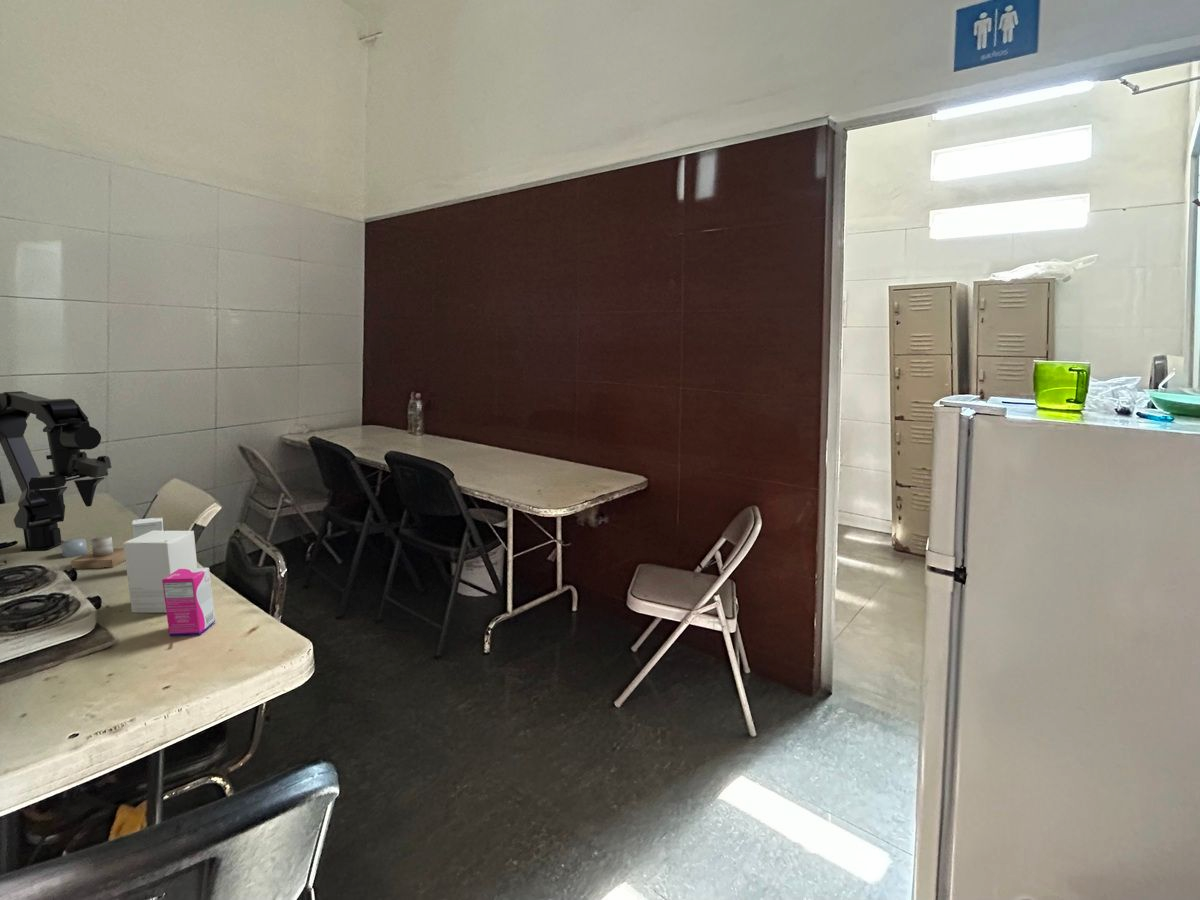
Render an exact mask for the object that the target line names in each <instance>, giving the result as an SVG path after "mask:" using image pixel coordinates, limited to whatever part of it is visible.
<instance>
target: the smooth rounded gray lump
mask: <svg viewBox="0 0 1200 900" xmlns="http://www.w3.org/2000/svg"><path fill="white" fill-rule="evenodd" d="M62 541H63V542H61V544H60V548H61V556H63V557H62V558H66V557H69V558H75V557H76V558H78V557H80V556H82V555H84V554H86V553H87V552H88V546H87V540H86V538H71V539H67V540H62Z"/></svg>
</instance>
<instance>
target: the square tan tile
mask: <svg viewBox="0 0 1200 900" xmlns="http://www.w3.org/2000/svg"><path fill="white" fill-rule="evenodd" d="M90 540H91V548H92V550H90V551H87V552H88V553H86V554H84V555H81V556H77V557H76V558H74V559H72V560H70V563H71V569H72V568H76V569H75V570H77V569H78V570H79V569H81V570H82V569H105V568H104V567H113V568H114V566H115V567H116V565H117V566H119V565H120V564H122V563H124V562H126V561H125V553H124V547H122V548H119V547H117V548H114V544H113V537H112V536H110V535H109V536H108V535H104V536H98V537H94V538H92V539H90ZM123 561H124V562H123ZM121 562H122V563H121ZM119 563H120V564H119ZM102 567H103V568H102Z"/></svg>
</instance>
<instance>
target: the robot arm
mask: <svg viewBox="0 0 1200 900" xmlns="http://www.w3.org/2000/svg"><path fill="white" fill-rule="evenodd" d="M31 414H32V415H35V418H36V419H37V420H38V421H40V422H42V423H43V424H45V426H44V427H43V429H42V432H43V433H46V436H47V441H48V447H49V452H50V454H47V455H46V456H45V457H46V460H51V463H52V470H51V471H48V474H49V475H41V473H40V472H41V471H39V468H38V466H37V463H36V461H35V459H34V457H33V454H32V452H31V450H30V447H29V445H28V442H27V441H26V439H25V436H24V435H25V433H26V432H25V431H26V430H27V426H28V423H27V420H28V418H29V417H30V415H31ZM88 419H89V417H88V416H87V414H86V413H84V411H83V410H82V408H81V407H80V406H79V404H78V403H77V402H76V401H75V400H74V399H73V398H53V399H52V398H51V399H50V398H46V397H43V396H38V395H35V394H31V393H28V392H26V391H22V390H20V391H17V390H16V391H4V392H0V445H1V449H2V450H3V452H4V454H5V456H6V459H7V462H8V463H9V466H10V468H11V470H12V473H13V475H14V477H15V480H16V482H17V484H18V487H19V490H20V491H21V494H20V496H19V500H18V501H17V506H18V508H19V509H18V511H17V512H16V514H15V517H13V523H14V525H15V528H19V529H21V530H22V531H23V538H24V543H25V544H24V545H25V547H21V548H20V550H21V551H46V550H47V551H48V550H51V549H53V548H55V547H57V546H61V542H63V541H64V540H62V535H61V528H60V527H59V526H58V523H59V522H65V513H66V512H65V511H66V505H65V502H64V501H65V500H64V493H65V492H66V490H67V489H68V486H65V485H66V484H67V482H71V481H73V482H74V484H75V486H76V489H77V491H78V493H79V494H80V497H81V500H82V502H83V503H84V505H85V507H91V506H93V501H94V498H95V497H94V496H95V491H96V489H97V487H98V486H97V485H98V484H100V483H101V481H104V479H105V478H106V477H107V476H108V475H109V473H108V470H110V469H112V465H111V464H112V463H111V458H110V457H109V456H106V455H100V456H98V457H97V458H96V457H95V458H90V457H88V455H87V452H85V451H87V450H89V451H90V450H93V449H95V448H97V447H98V446H99V445H100V443H101V440H102V436H101V435H102V434H101V433H100V431H99V430H98V429H96V428H95V427H92V426H91V425H90V421H89V420H88ZM81 450H85V451H81Z"/></svg>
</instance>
